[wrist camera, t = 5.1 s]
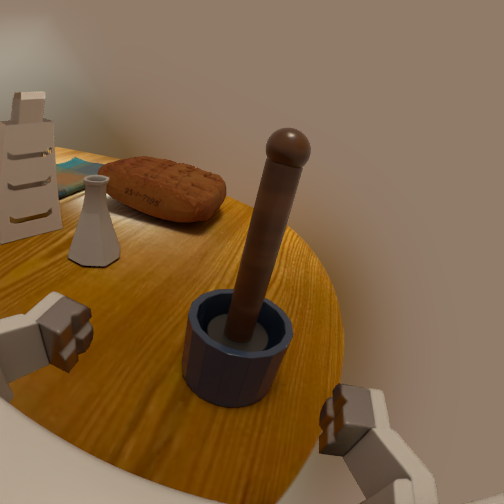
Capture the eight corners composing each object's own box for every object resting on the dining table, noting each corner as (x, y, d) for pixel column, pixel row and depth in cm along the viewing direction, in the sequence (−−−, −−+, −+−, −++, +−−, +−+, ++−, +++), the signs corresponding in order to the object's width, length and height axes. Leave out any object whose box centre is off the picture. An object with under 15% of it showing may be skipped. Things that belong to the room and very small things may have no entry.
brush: (265, 383, 24) (350, 146, 16) (209, 392, 22) (275, 125, 14) (244, 344, 28) (306, 131, 19) (194, 349, 26) (241, 115, 17)
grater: (43, 206, 44) (51, 91, 35) (62, 228, 39) (72, 91, 31) (-9, 218, 36) (-7, 94, 27) (0, 244, 31) (0, 93, 22)
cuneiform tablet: (86, 206, 48) (89, 162, 44) (135, 185, 63) (139, 150, 60) (200, 240, 46) (209, 190, 43) (228, 210, 62) (237, 172, 58)
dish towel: (123, 176, 68) (124, 166, 67) (56, 202, 46) (56, 189, 45) (74, 165, 69) (74, 156, 68) (7, 186, 48) (7, 175, 47)
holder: (286, 398, 23) (311, 349, 21) (195, 414, 20) (205, 363, 18) (252, 337, 30) (267, 287, 27) (174, 342, 26) (180, 289, 24)
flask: (109, 273, 33) (111, 190, 29) (58, 261, 32) (56, 182, 28) (128, 246, 39) (134, 175, 35) (82, 237, 39) (85, 168, 34)
